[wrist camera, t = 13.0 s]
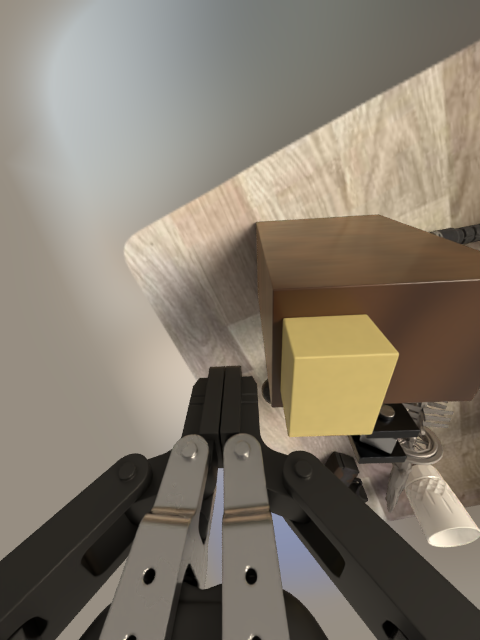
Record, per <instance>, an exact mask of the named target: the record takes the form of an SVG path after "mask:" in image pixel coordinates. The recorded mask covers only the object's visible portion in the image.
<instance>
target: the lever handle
mask: <svg viewBox="0 0 480 640" xmlns="http://www.w3.org/2000/svg"><path fill="white" fill-rule="evenodd" d="M262 395H263V398H264V399H265V400H266V401H267V402H268V403H270V404H271V398H270V390H269V382H268V379H267V380H266V381H265V382H264V383H263V385H262ZM359 440H360V441H361V442H364V443H366V444H368V445H371V446H373V447H376V448H378V449H380V450H383V451H385V452H388V453H390V454H391V453H392V451H393V448H394V446H395V444H396V442H397V438H375V439H367V438H366V436H365V435H360V439H359Z"/></svg>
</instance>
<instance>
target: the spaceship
mask: <svg viewBox="0 0 480 640" xmlns="http://www.w3.org/2000/svg"><path fill="white" fill-rule="evenodd" d="M445 403H448V402H445ZM402 404H403V405H404V407H405V408H407V409H409V411H408V413H409V414H410V416H411V417H412V419H413V420H414V422H415V423H416V424H417V426H418V427H419V429H420V433H419V435H418V436H419V437H420V438H421V439H422V440H419V439H417V437H410V438H401V440H400V441H399V442H400V445H401V447H402V448H403V450H404V452H405V454H406V456H407V458H406V460H405V462H404V463H392V464H393V468H392V470H391V474H390V477H389V482H388V488H387V493H386V494H387V496H386V501H387V510H388V512H390V513H391V512H392V511H393V509H394V506H395V505H396V504H397V502H398V497H399V495H400V494H401V492H402V491H403V489H404V487H405V484H406V481H407V479H408V476H409V473H410V472H411V471H412V463H413V464H417V465H430V464H434V463H436V462H438V461H439V460H440V459H441V458H442V456H443V447H442V444H441V442H440V440H439V439H438V437H437V436H436V435H435V434H434V433H433V432H432V431H431V430H430V429H429V428H427V427H426V426H429V427H441V428H448V426H449V425H447V424H439V423H431V422H425V420H435V421H449V422H450V421H451V418H445V417H437V416H428V415H424V413H430V414H439V415H442V416H444V414H445V415H453V411H445V410H436V409H431V408H428V407H426V406H427V405H430V406H434V407H438V408H442V409H446V407H447V406H444V405H441V404H437V403H434V402H418V403H402ZM423 420H424V422H423ZM416 442H418V443H423V444H426V449H423V448H422V447H421V451H415V450H414V445H417V446H418V447H419V448H420V446H419V445H418V444H417V443H416ZM416 448H417V447H416ZM417 449H418V448H417ZM418 450H420V449H418ZM430 456H431V457H430ZM420 458H421V459H420ZM422 458H424V459H422Z"/></svg>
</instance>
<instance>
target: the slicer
mask: <svg viewBox="0 0 480 640" xmlns="http://www.w3.org/2000/svg"><path fill="white" fill-rule="evenodd" d="M419 433H420V429H419V427H418V426H417V424H416V423H415V422H414V420H413V419H412V417H411V416H410V414H409V413H408V411H407V410H406V408H405V407H404V405H403V404H402V403H389V404H382V406H381V409H380V412H379V414H378V417H377V420H376V423H375V426H374V429H373V432H372V434H370V435H365V436H366V438H367V439H375V438H410V437H418V435H419ZM348 438H349V440H350V443H351V446H352V448H353V451H354V453H355V456H356V458H357V461H358V463H359V464H364V463H404V462H405V460H406V458H407V456H406V454H405V452H404V450H403V448H402V447H401V445H400V443H399V441H398V440H397V442H396V444H395V446H394V448H393V451H392V453H391V454H390V453H388V452H385V451H383V450H380V449H378V448H376V447H373V446H371V445H368V444H366V443H364V442H361V441H360V440H359V439H360V435H348Z"/></svg>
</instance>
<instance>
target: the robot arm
mask: <svg viewBox="0 0 480 640" xmlns="http://www.w3.org/2000/svg"><path fill="white" fill-rule="evenodd" d="M218 468H224V514H223V519H222V584H219V585H217V586H214V587H211V588H209V589H204V588H205V581H206V574H207V561H208V555H207V553H208V541H209V535H210V529H211V522H212V516H213V509H214V502H215V496H216V487H217V486H216V483H217V472H218ZM271 512H272V513H275V514H277V515H280V516H282V517H283V518H284V519H285V521H286V522H287V523H288V525H289V526H290V527H291V529H292V530H293V531H294V533H295V534H296V535H297V536H298V538H299V539H300V540H301V542H302V543H303V544H304V545H305V547H306V548H307V549H308V550H309V552H310V553H311V555H312V556H313V557H314V558H315V560H316V561H317V562H318V563H319V565H320V566H321V567H322V569H323V570H324V571H325V572H326V574H327V575H328V576H329V578H330V579H331V580H332V582H333V583H334V584H335V585H336V587H337V588H338V589H339V591H340V592H341V593H342V594H343V596H344V597H345V598H346V600H347V601H348V602H349V603H350V605H351V606H352V607H353V608H354V610H355V611H356V612H357V614H358V615H359V616H360V618H361V619H362V620H363V621H364V623H365V624H366V625H367V626H368V628H369V629H370V630H371V632H372V633H373V634H374V636H375V637H376V638H377V639H378V640H480V610H479V609H477V607H475V606H474V605H473V604H472V603H471V602H470V601H469V600H468V599H467V598H466V597H465V596H464V595H463V594H461V593H460V592H459V591H458V590H457V589H456V588H455V587H454V586H453V585H452V584H451V583H450V582H449V581H448V580H447V579H445V578H444V577H443V576H442V575H441V574H440V573H439V572H438V571H437V570H436V569H435V568H434V567H433V566H432V565H431V564H430V563H428V562H427V561H426V560H425V559H424V558H423V557H422V556H421V555H420V554H419V553H418V552H417V551H416V550H414V549H413V548H412V547H411V546H410V545H409V544H408V543H407V542H406V541H405V540H404V539H403V538H402V537H401V536H399V534H398V533H396V532H395V531H394V530H393V529H392V528H391V527H390V526H389V525H388V524H387V523H386V522H385V521H384V520H383V519H381V518H380V517H379V516H378V515H377V514H376V513H375V512H374V511H373V510H372V509H371V508H370V507H369V506H368V505H367V504H365V503H364V502H363V501H362V500H361V499H360V498H359V497H358V496H357V495H356V494H355V493H354V492H353V491H352V490H351V489H349V488H348V487H347V486H346V485H345V484H344V483H343V482H342V481H341V480H340V479H339V478H338V477H337V476H336V475H335V474H333V473H332V472H331V471H330V470H329V469H328V468H327V467H326V466H325V465H324V464H323V463H322V462H321V461H320V460H319V459H317V458H316V457H315V456H314V455H312V454H311V453H308V452H305V451H295V452H292V453H290V454H289V455H286V454H282V453H279V452H276V451H274V450H272V449H270V448H269V447H267V446H266V445H265V443H264V442H263V440H262V438H261V436H260V426H259V410H258V393H257V383H256V382H255V380H254V379H253V377H252V376H246V377H242V371H241V366H226V367H225V366H221V367H210V369H209V375H208V378H199V379H198V381H197V382H196V384H195V385H194V386H193V389H192V394H191V398H190V403H189V407H188V412H187V416H186V420H185V424H184V429H183V433H182V437H181V439H180V440H179V441H178V442H177V443H176V444H175V445H174V447H173V449H171V450H170V451H168V452H167V453H165V454H162V455H159V456H156V457H153V458H151V459H148V460H147V459H146V458H145V456H143V455H141V454H130V455H127V456H125V457H123V458H121V459H120V460H119V461H117V462H116V463H115V464H114V465H113V466H111V467H110V468H109V469H108V470H107V471H106V472H104V473H103V474H102V475H101V476H100V477H99V478H97V479H96V480H95V481H94V482H93V483H92V484H90V485H89V486H88V487H87V488H86V489H84V490H83V491H82V492H81V493H80V494H79V495H78V496H76V497H75V498H74V499H73V500H72V501H70V502H69V503H68V504H67V505H66V506H64V507H63V508H62V509H61V510H60V511H59V512H57V513H56V514H55V515H54V516H53V517H52V518H51V519H49V520H48V521H47V522H46V523H45V524H43V525H42V526H41V527H40V528H39V529H37V530H36V531H35V532H34V533H33V534H32V535H30V536H29V537H28V538H27V539H26V540H25V541H23V542H22V543H21V544H20V545H19V546H18V547H16V548H15V549H14V550H13V551H12V552H10V553H9V554H8V555H7V556H6V557H5V558H3V559H2V560H1V561H0V640H55V639H56V638H57V637H58V636H59V635H60V634H61V632H62V631H63V630H64V629H65V628H66V627H67V626H68V624H69V623H70V622H71V621H72V620H73V619H74V617H75V616H76V615H77V614H78V612H80V611H81V609H82V608H83V607H84V606H85V605H86V604H87V603H88V601H89V600H90V599H91V598H92V597H93V596H94V595H95V593H96V592H97V591H98V590H99V589H100V587H102V585H103V584H104V583H105V582H106V581H107V580H108V579H109V577H110V576H111V575H112V574H113V573H114V572H115V570H116V569H117V568H118V567H119V566H120V565H121V564H122V563H123V561H124V560H125V559H126V558H127V557H128V558H127V561H126V564H125V567H124V570H123V572H122V575H121V578H120V581H119V584H118V587H117V589H116V592H115V595H114V598H113V601H112V603H111V604H110V605H108V606H107V607H106V608H105V609H104V610H103V611H102V612H101V613H100V614H99V615H98V616H97V618H96V619H95V620H94V621H93V622H92V624H91V625H90V626H89V627H88V629H87V630H86V631H85V633H84V634H83V635H82V636H81V638H80V639H79V640H328V638H327V637H326V635H325V633H324V632H323V630H322V629H321V627H320V626H319V624H318V623H317V621H316V620H315V618H314V617H313V616H312V614H311V613H310V612H309V610H308V609H307V608H306V607H305V606H304V605H303V604H302V603H301V602H300V601H299V600H298V599H297V598H296V597H294V596H293V595H292V594H290V593H288V592H287V591H285V590H283V589H282V582H281V576H280V569H279V561H278V554H277V547H276V541H275V534H274V527H273V520H272V515H271ZM154 576H155V577H154Z"/></svg>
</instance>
